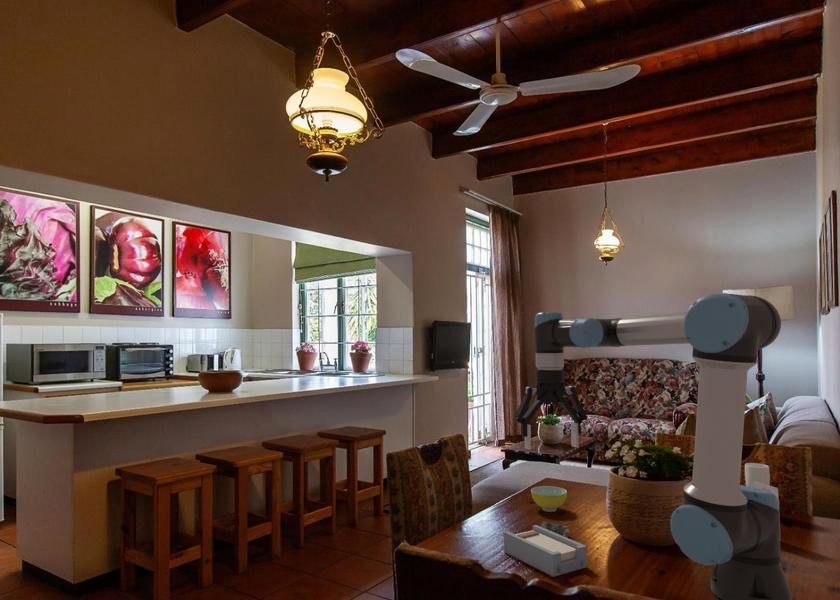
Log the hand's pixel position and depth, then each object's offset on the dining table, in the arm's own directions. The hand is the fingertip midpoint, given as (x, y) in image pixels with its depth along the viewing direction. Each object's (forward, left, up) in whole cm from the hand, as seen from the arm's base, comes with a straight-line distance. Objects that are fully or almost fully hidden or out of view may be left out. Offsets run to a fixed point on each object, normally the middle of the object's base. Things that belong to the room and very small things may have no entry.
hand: (551, 447), depth 154 cm
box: (-6, +9, -26) cm, 28 cm away
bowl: (+24, -21, -26) cm, 41 cm away
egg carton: (+3, -3, -26) cm, 27 cm away
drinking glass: (-13, -75, -26) cm, 81 cm away
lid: (-5, +9, -24) cm, 26 cm away
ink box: (-26, -53, -26) cm, 64 cm away
